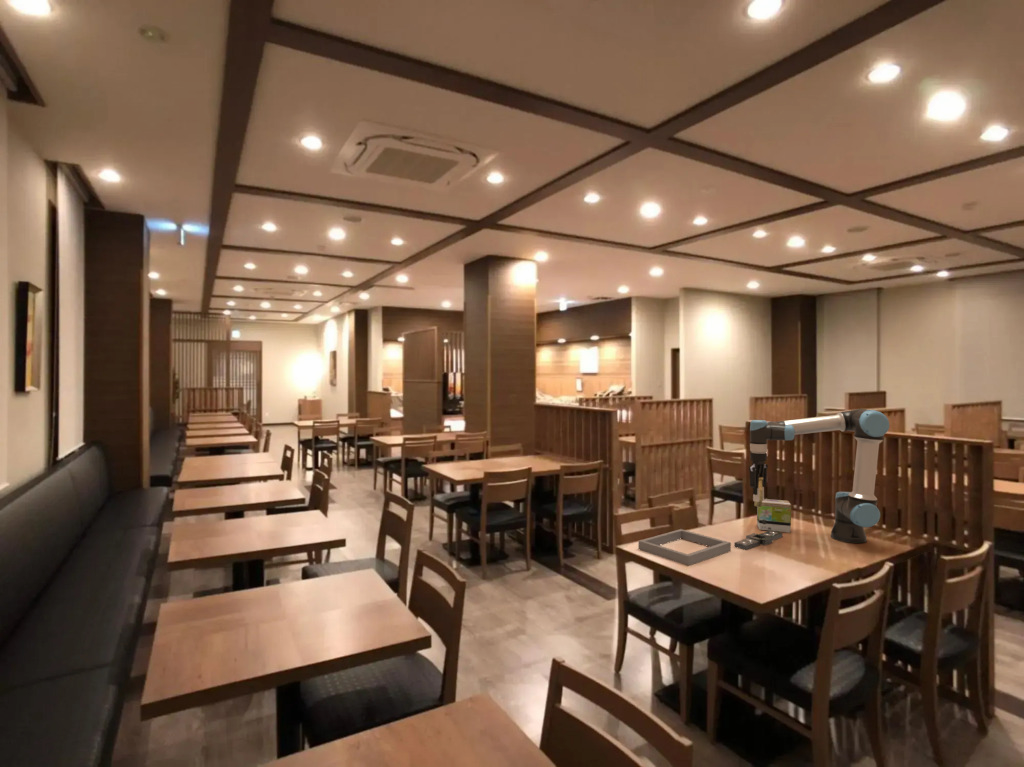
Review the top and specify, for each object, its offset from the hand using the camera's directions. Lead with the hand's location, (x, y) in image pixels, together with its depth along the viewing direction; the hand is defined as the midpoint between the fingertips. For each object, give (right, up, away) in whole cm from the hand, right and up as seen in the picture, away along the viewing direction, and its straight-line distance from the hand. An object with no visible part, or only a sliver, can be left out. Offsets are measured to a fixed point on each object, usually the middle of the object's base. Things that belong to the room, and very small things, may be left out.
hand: (758, 500), depth 272 cm
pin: (0, -3, 0) cm, 3 cm away
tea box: (+18, -20, +22) cm, 35 cm away
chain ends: (0, -20, 0) cm, 20 cm away
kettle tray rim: (-40, -20, -13) cm, 46 cm away
